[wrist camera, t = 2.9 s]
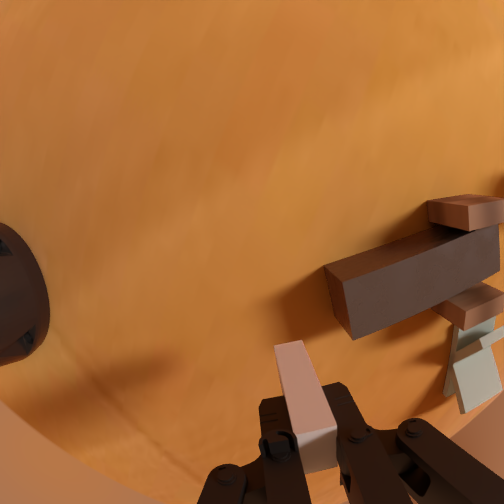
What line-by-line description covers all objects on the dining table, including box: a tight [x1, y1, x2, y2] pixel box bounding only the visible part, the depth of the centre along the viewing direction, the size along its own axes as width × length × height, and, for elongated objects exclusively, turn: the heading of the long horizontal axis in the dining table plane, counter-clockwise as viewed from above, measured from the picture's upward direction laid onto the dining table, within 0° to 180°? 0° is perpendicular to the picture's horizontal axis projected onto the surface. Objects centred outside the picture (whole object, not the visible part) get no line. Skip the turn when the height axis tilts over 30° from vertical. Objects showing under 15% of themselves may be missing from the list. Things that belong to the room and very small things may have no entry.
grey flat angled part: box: [443, 316, 504, 414], centre depth 26 cm, size 7×11×6 cm, turn 11°
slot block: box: [427, 194, 504, 331], centre depth 23 cm, size 6×11×6 cm, turn 11°
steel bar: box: [323, 224, 500, 340], centre depth 23 cm, size 17×5×5 cm, turn 107°
